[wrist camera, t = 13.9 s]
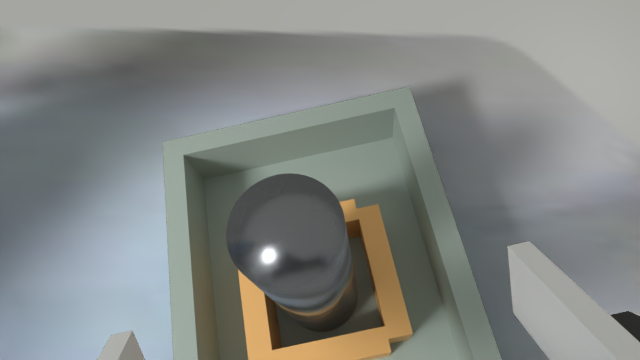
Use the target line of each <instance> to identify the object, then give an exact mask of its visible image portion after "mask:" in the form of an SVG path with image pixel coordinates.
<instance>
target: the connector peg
mask: <svg viewBox="0 0 640 360" xmlns="http://www.w3.org/2000/svg"><path fill="white" fill-rule="evenodd" d="M226 242H227V248H228V251H229V254H230V257H231V259H232V261H233V263H234V264H235V265H236V267H237V268H238V269H239V271H240V272H241V273H242V274H243V275H244V276H246V277H247V278H248V279H249V280H250V281H251V282H252V283H254V284H255V285H256V286H257V287H258V288H259V289H260V290H262V291H263V292H264V293H265V294H266V295H267V296H268V297H270V298H271V299H272V300H273V301H274V302H275V303H277V304H278V305H279V306H280V307H281V308H282V309H283V310H285V311H286V312H287V313H288V314H289V315H290V316H291V317H293V318H294V319H295V320H296V321H297V322H298V323H299V324H301V325H302V326H303V327H305V328H307V329H309V330H312V331H316V332H328V331H332V330H335V329H337V328H339V327H341V326H342V325H343V324H345V323H346V322H347V321H348V320H349V319H350V317H351V316H352V314H353V312H354V310H355V308H356V304H357V298H358V293H357V286H356V280H355V275H354V269H353V263H352V257H351V252H350V246H349V240H348V234H347V228H346V223H345V217H344V213H343V210H342V207H341V205H340V203H339V201H338V199H337V198H336V196H335V195H334V193H333V192H332V191H331V190H330V189H329V188H328V187H327V186H325V185H324V184H323V183H321V182H320V181H318V180H316V179H314V178H312V177H309V176H306V175H301V174H293V173H286V174H278V175H274V176H270V177H267V178H265V179H263V180H261V181H259V182H257V183H255V184H254V185H252V186H251V187H250V188H248V189H247V190H246V191H245V192H244V193H243V194H242V195H241V197H240V198H239V199H238V200H237V202H236V203H235V205H234V207H233V209H232V211H231V213H230V216H229V218H228V222H227V228H226Z"/></svg>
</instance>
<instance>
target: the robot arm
mask: <svg viewBox="0 0 640 360" xmlns="http://www.w3.org/2000/svg"><path fill="white" fill-rule="evenodd" d="M507 248H508V259H509V271H510V283H511V295H512V306H513V313H514V314H515V316H516V317H517V318H518V320H519V321H520V322H521V324H522V325H523V326H524V327H525V329H526V330H527V331H528V333H529V334H530V335H531V337H532V338H533V339H534V340H535V342H536V343H537V344H538V346H539V347H540V348H541V350H542V351H543V352H544V353H545V355H546V356H547V357H548V359H549V360H640V316H638V315H636V314H633V313H631V312H629V311H626V312H622V313H618V314H613V315H609V314H608V313H607V312H606V311H605V310H604V309H603V308H602V307H601V306H600V305H599V304H597V303H596V302H595V301H594V300H593V299H592V298H591V297H590V296H589V295H588V294H587V293H585V292H584V291H583V290H582V289H581V288H580V287H579V286H578V285H577V284H576V283H575V282H573V281H572V280H571V279H570V278H569V277H568V276H567V275H566V274H565V273H564V272H563V271H561V270H560V269H559V268H558V267H557V266H556V265H555V264H554V263H553V262H552V261H551V260H550V259H548V258H547V257H546V256H545V255H544V254H543V253H542V252H541V251H540V250H539V249H538V248H536V247H535V246H534V245H533V244H532V243H531V242H530V241H528V242H523V243H519V244H514V245H510V246H507ZM97 360H145V358H144V356H143V354H142V352H141V349H140V347H139V345H138V342H137V340H136V338H135V335H134V333H133V331H128V332H123V333H119V334H115V335H111V336H110V338H109V339H108V341H107V343H106V345H105V346H104V348H103V350H102V352H101V354H100V355H99V357H98V359H97Z"/></svg>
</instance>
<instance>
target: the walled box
mask: <svg viewBox="0 0 640 360" xmlns="http://www.w3.org/2000/svg"><path fill="white" fill-rule="evenodd" d="M163 162H164V182H165V203H166V223H167V243H168V263H169V284H170V304H171V324H172V345H173V360H502V358H501V355H500V352H499V349H498V346H497V343H496V340H495V338H494V335H493V332H492V329H491V326H490V323H489V320H488V317H487V314H486V311H485V308H484V305H483V302H482V299H481V296H480V293H479V290H478V287H477V285H476V282H475V279H474V276H473V273H472V270H471V267H470V264H469V261H468V258H467V255H466V252H465V249H464V246H463V243H462V240H461V237H460V234H459V231H458V229H457V226H456V223H455V220H454V217H453V214H452V211H451V208H450V205H449V202H448V199H447V196H446V193H445V190H444V187H443V184H442V181H441V178H440V175H439V173H438V170H437V167H436V164H435V161H434V158H433V155H432V152H431V149H430V146H429V143H428V140H427V137H426V134H425V131H424V128H423V125H422V122H421V120H420V117H419V114H418V111H417V108H416V105H415V102H414V99H413V96H412V93H411V90H410V87H405V88H401V89H396V90H392V91H387V92H383V93H378V94H374V95H370V96H365V97H361V98H356V99H352V100H347V101H343V102H338V103H334V104H329V105H325V106H320V107H316V108H311V109H307V110H303V111H298V112H294V113H289V114H285V115H280V116H276V117H271V118H267V119H262V120H258V121H253V122H249V123H244V124H240V125H236V126H231V127H227V128H222V129H218V130H213V131H209V132H204V133H200V134H195V135H191V136H186V137H182V138H177V139H173V140H169V141H164V142H163ZM286 173H293V174H301V175H306V176H309V177H312V178H314V179H316V180H318V181H320V182H321V183H323V184H324V185H325V186H327V187H328V188H329V189H330V190H331V191H332V192H333V193H334V195H335V196H336V198H337V199H338V201H339V203H340V205H341V207H342V210H343V213H344V217H345V223H346V228H347V234H348V240H349V246H350V252H351V257H352V263H353V269H354V275H355V280H356V286H357V293H358V298H357V304H356V308H355V310H354V312H353V314H352V316H351V317H350V319H349V320H348V321H347V322H346V323H345V324H343V325H342V326H341V327H339V328H337V329H335V330H332V331H328V332H316V331H312V330H309V329H307V328H305V327H303V326H302V325H301V324H299V323H298V322H297V321H296V320H295V319H294V318H293V317H291V316H290V315H289V314H288V313H287V312H286V311H285V310H283V309H282V308H281V307H280V306H279V305H278V304H277V303H275V302H274V301H273V300H272V299H271V298H270V297H268V296H267V295H266V294H265V293H264V292H263V291H262V290H260V289H259V288H258V287H257V286H256V285H255V284H254V283H252V282H251V281H250V280H249V279H248V278H247V277H246V276H244V275H243V274H242V273H241V272H240V271H239V269H238V268H237V267H236V265H235V264H234V263H233V261H232V259H231V257H230V254H229V251H228V248H227V242H226V228H227V222H228V218H229V216H230V213H231V211H232V209H233V207H234V205H235V203H236V202H237V200H238V199H239V198H240V197H241V195H242V194H243V193H244V192H245V191H246V190H247V189H248V188H250V187H251V186H252V185H254V184H255V183H257V182H259V181H261V180H263V179H265V178H267V177H270V176H274V175H278V174H286Z"/></svg>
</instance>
